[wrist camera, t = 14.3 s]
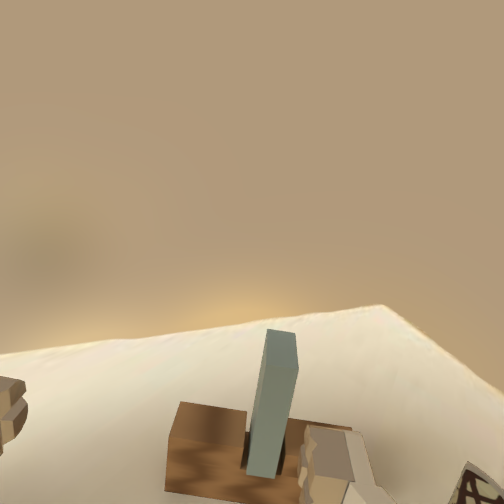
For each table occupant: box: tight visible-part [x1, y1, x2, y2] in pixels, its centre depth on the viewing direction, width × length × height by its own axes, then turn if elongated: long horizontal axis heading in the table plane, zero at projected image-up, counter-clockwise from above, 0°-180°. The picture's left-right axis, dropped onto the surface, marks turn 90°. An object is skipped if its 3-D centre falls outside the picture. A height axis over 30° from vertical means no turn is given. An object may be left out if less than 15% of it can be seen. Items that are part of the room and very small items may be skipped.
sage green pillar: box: [246, 329, 299, 479], centre depth 38 cm, size 3×6×14 cm, turn 176°
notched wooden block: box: [165, 402, 352, 504], centre depth 41 cm, size 20×5×8 cm, turn 86°
